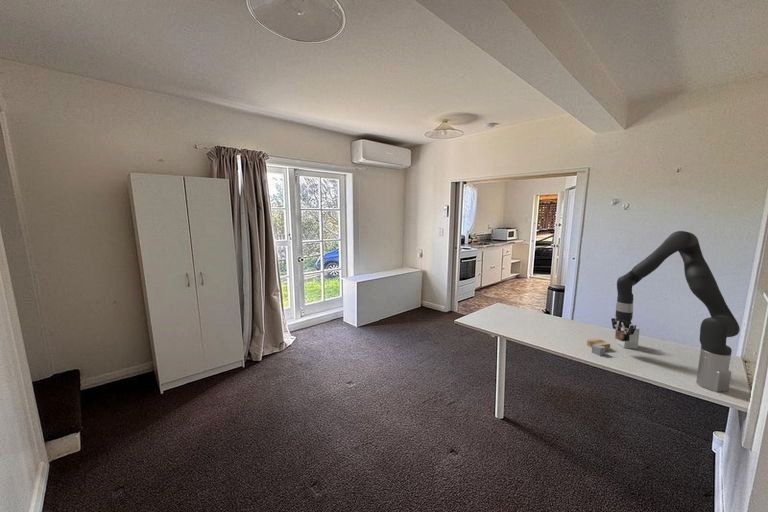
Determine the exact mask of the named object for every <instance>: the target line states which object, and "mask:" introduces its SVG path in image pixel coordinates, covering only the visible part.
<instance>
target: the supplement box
mask: <svg viewBox="0 0 768 512" xmlns="http://www.w3.org/2000/svg"><path fill="white" fill-rule="evenodd" d="M626 329H627V328H626ZM622 330H623V328H622V329H621V331H622ZM623 331H624V330H623ZM639 337H640V328H639V327H637V326H636V329H635V332H634V334H633V335H630V339H629V341H620V340H618V339H617V341H616V342H617V344H618V345H620V346H621V347H622V348H625V349H635V350H636V349H637V350H638V348H639Z"/></svg>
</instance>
